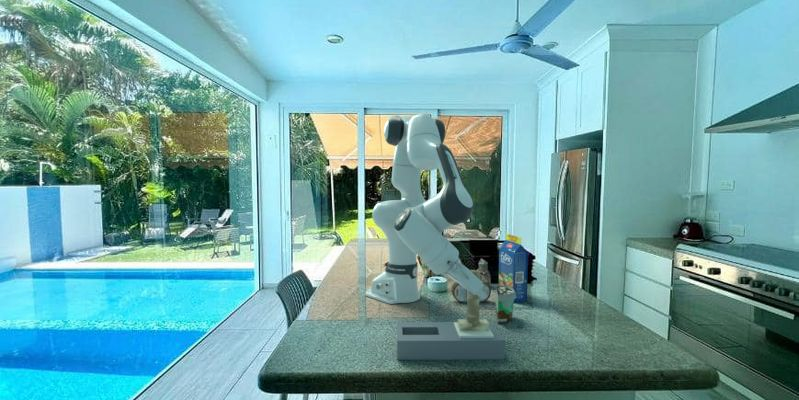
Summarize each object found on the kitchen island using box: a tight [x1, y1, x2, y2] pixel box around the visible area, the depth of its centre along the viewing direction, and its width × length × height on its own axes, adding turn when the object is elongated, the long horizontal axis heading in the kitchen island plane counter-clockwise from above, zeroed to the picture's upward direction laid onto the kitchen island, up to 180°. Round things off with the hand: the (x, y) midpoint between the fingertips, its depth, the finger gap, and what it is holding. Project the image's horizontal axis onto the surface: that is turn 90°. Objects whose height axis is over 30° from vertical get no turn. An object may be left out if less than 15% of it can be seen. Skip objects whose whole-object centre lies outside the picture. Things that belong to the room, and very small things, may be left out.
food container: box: [495, 284, 516, 325], centre depth 117 cm, size 12×6×10 cm, turn 168°
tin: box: [450, 280, 492, 303], centre depth 134 cm, size 15×3×8 cm, turn 92°
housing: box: [396, 321, 506, 361], centre depth 96 cm, size 28×12×6 cm, turn 91°
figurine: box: [476, 258, 492, 288], centre depth 154 cm, size 7×7×12 cm
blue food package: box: [498, 232, 529, 303], centre depth 139 cm, size 6×12×25 cm, turn 10°
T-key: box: [457, 269, 489, 331], centre depth 96 cm, size 8×3×16 cm, turn 91°
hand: (475, 291), depth 96 cm, fingers open, 8 cm apart
